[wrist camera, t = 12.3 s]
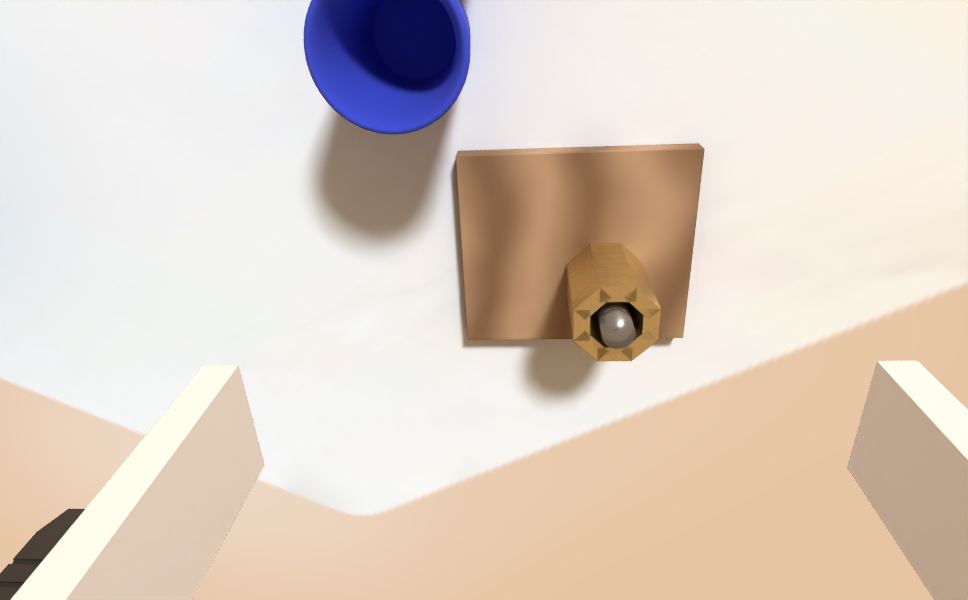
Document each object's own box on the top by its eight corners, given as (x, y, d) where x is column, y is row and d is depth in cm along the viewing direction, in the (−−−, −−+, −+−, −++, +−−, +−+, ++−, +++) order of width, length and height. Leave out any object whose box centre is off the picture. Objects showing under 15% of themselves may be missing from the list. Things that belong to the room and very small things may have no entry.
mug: (544, -46, 37) (551, -54, 28) (438, 126, 42) (415, 165, 33) (426, -138, 36) (393, -176, 27) (329, 53, 40) (275, 74, 32)
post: (584, 294, 46) (595, 353, 38) (586, 261, 44) (597, 315, 37) (621, 294, 45) (639, 353, 38) (623, 260, 44) (642, 315, 37)
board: (469, 329, 49) (467, 339, 48) (458, 151, 43) (455, 156, 42) (678, 327, 48) (682, 337, 47) (698, 143, 42) (704, 149, 40)
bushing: (566, 309, 46) (572, 361, 40) (567, 243, 44) (574, 287, 38) (638, 308, 46) (656, 360, 40) (643, 242, 43) (663, 286, 37)
